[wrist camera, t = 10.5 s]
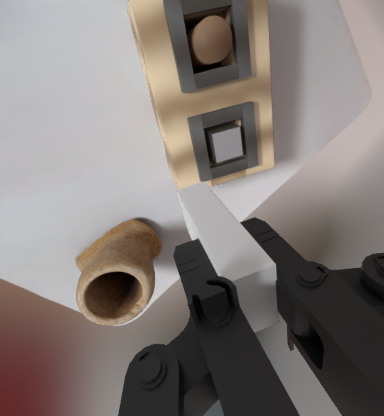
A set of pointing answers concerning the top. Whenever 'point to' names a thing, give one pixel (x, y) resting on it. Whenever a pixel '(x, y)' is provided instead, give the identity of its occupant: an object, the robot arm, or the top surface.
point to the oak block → (207, 85)
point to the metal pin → (223, 141)
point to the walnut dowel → (209, 41)
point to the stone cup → (118, 273)
